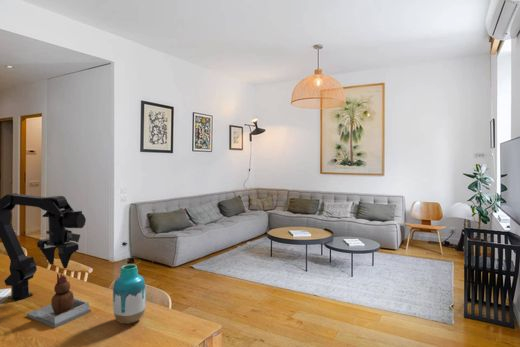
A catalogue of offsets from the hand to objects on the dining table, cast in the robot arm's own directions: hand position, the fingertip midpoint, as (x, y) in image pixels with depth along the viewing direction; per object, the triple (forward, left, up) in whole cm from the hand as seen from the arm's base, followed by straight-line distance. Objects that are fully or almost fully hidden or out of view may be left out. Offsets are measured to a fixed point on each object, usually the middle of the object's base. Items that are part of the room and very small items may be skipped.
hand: (58, 266), depth 133 cm
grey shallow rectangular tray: (+13, -8, -13) cm, 20 cm away
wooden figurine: (+16, -8, -12) cm, 22 cm away
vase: (+40, +1, -13) cm, 42 cm away
